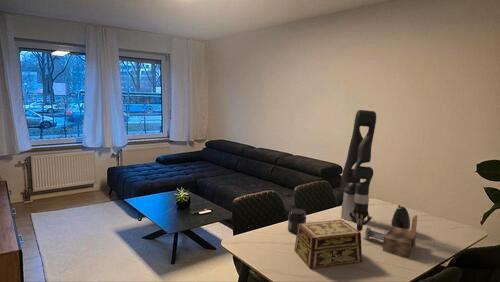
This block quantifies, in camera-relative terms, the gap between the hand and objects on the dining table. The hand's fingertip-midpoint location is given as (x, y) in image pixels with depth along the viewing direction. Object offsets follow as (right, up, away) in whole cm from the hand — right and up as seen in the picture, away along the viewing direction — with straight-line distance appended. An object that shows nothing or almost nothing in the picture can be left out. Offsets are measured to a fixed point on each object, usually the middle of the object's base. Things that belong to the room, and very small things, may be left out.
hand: (359, 230), depth 181 cm
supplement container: (-35, -2, +7) cm, 36 cm away
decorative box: (-24, -7, -22) cm, 34 cm away
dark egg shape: (+28, -3, +10) cm, 29 cm away
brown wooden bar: (+10, -4, -7) cm, 13 cm away
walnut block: (+17, -6, -12) cm, 22 cm away
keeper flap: (+22, +1, -17) cm, 28 cm away
